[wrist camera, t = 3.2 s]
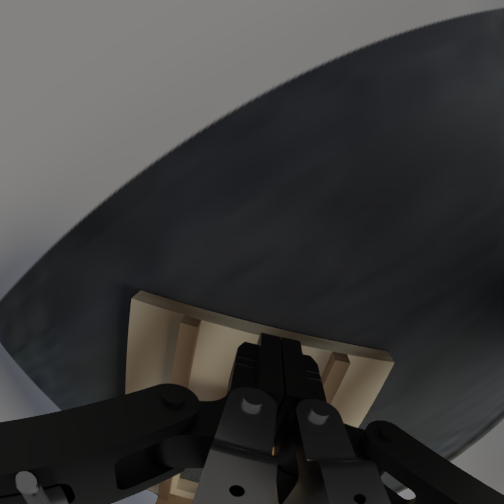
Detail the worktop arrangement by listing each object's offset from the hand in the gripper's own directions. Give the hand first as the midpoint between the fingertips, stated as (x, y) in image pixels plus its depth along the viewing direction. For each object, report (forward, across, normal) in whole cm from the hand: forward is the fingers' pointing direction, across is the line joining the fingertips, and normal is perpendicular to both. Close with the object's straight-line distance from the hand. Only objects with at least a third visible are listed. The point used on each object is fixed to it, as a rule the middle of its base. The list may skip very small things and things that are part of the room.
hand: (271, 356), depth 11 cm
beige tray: (+7, 0, +13) cm, 15 cm away
